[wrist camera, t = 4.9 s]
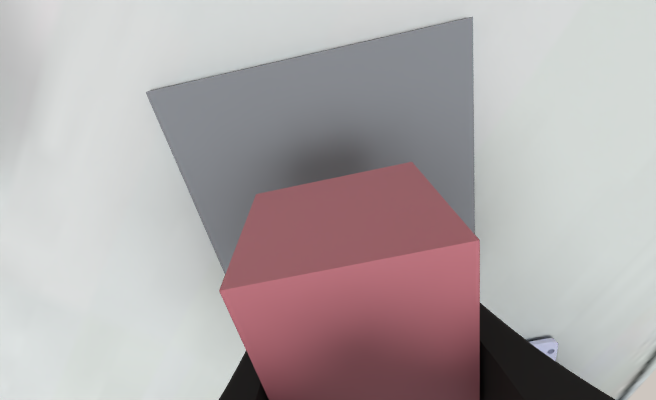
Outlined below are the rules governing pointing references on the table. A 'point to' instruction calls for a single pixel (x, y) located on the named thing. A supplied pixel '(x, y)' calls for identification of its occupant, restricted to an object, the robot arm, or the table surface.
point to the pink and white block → (358, 290)
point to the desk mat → (325, 123)
